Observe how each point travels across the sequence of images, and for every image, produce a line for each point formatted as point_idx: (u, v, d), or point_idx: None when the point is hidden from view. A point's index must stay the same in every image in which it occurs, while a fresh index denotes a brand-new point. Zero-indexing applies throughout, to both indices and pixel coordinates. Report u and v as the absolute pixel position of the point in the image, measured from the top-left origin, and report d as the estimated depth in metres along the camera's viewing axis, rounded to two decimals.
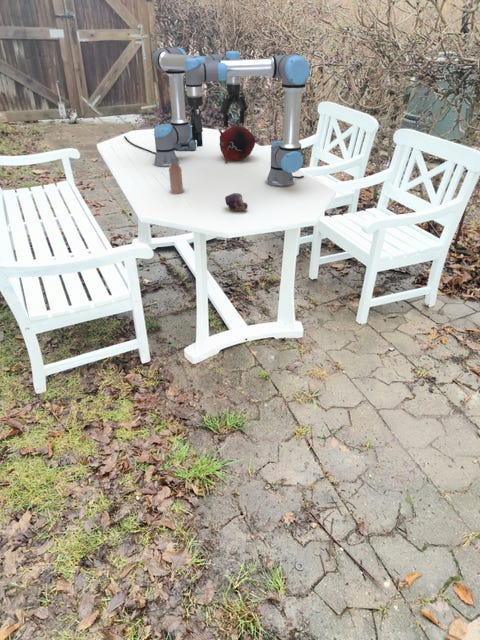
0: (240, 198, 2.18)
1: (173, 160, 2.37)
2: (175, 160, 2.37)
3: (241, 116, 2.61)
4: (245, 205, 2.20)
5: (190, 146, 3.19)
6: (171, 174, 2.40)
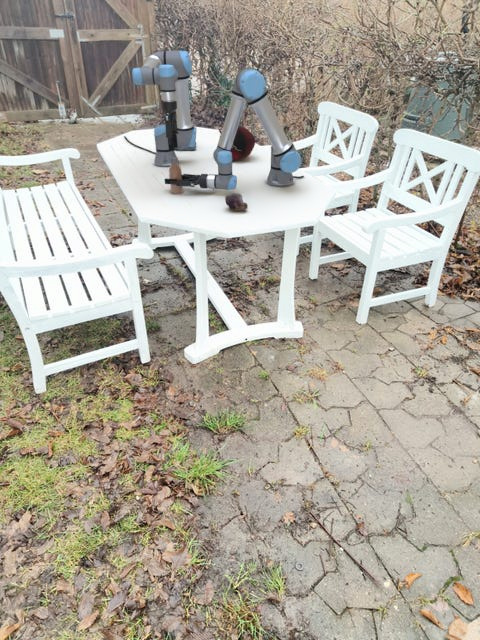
0: (240, 198, 2.18)
1: (173, 160, 2.37)
2: (175, 160, 2.37)
3: None
4: (245, 205, 2.20)
5: None
6: (171, 174, 2.40)
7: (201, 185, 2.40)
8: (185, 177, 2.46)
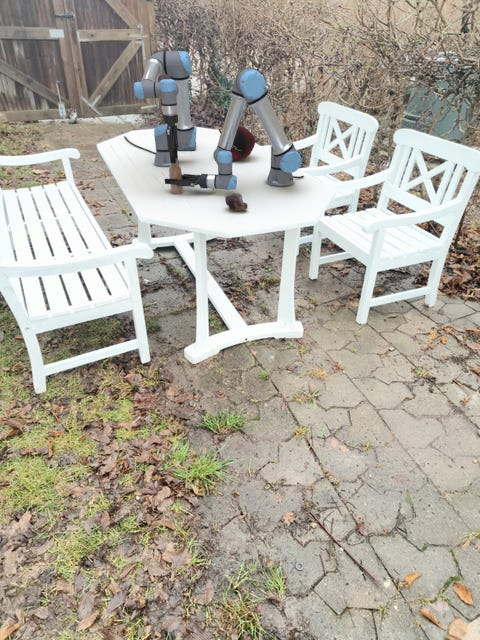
0: (240, 198, 2.18)
1: None
2: None
3: None
4: (245, 205, 2.20)
5: None
6: (171, 174, 2.40)
7: (201, 185, 2.40)
8: (185, 177, 2.46)
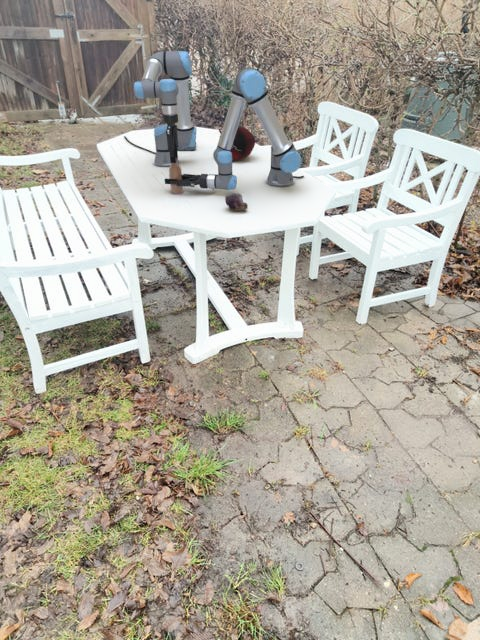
0: (240, 198, 2.18)
1: (177, 159, 2.39)
2: None
3: None
4: (245, 205, 2.20)
5: None
6: (171, 174, 2.40)
7: (201, 185, 2.40)
8: (185, 177, 2.46)
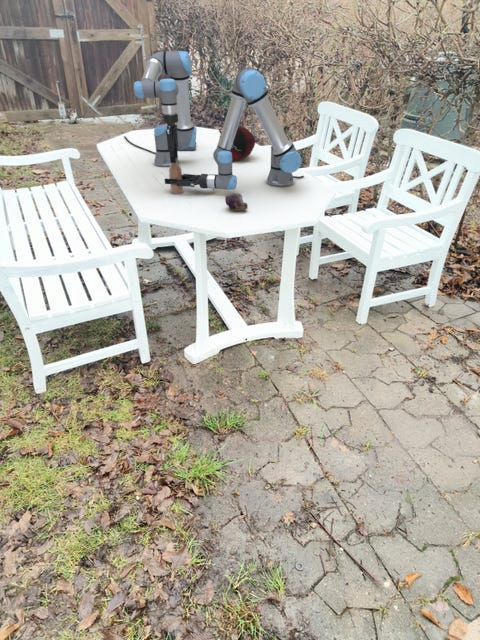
0: (240, 198, 2.18)
1: None
2: None
3: None
4: (245, 205, 2.20)
5: None
6: (171, 174, 2.40)
7: (201, 185, 2.40)
8: (185, 177, 2.46)
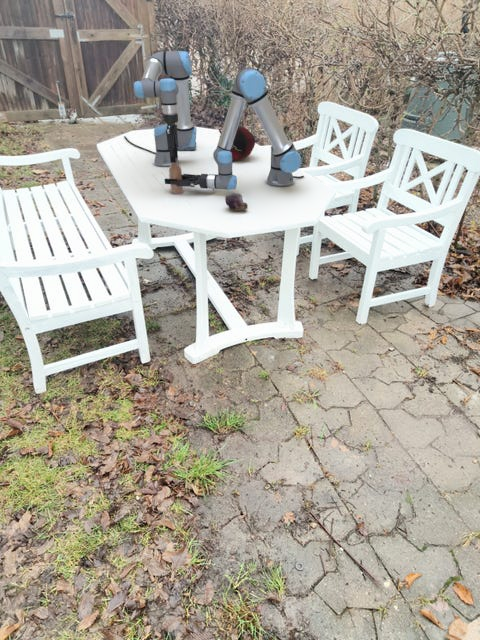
0: (240, 198, 2.18)
1: None
2: None
3: None
4: (245, 205, 2.20)
5: None
6: (171, 174, 2.40)
7: (201, 185, 2.40)
8: (185, 177, 2.46)
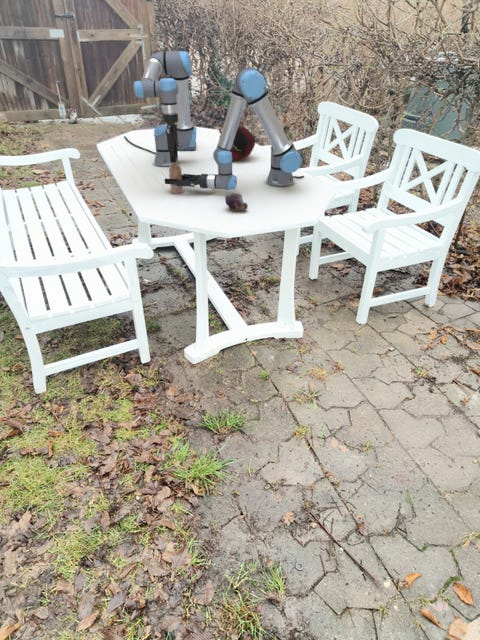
0: (240, 198, 2.18)
1: None
2: (176, 159, 2.37)
3: None
4: (245, 205, 2.20)
5: None
6: (171, 174, 2.40)
7: (201, 185, 2.40)
8: (185, 177, 2.46)
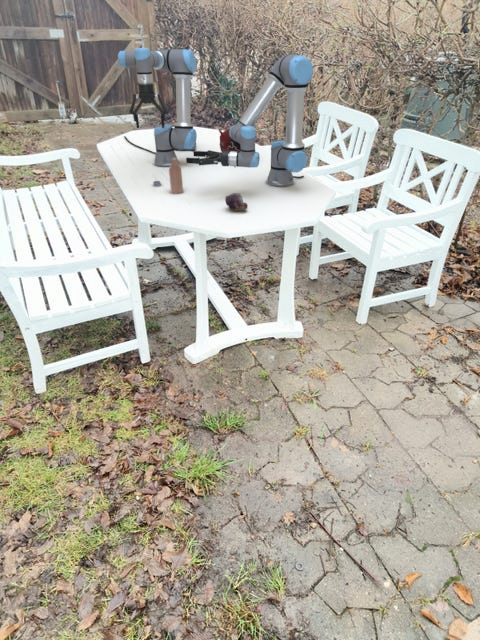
0: (240, 198, 2.18)
1: None
2: None
3: None
4: (245, 205, 2.20)
5: None
6: (171, 174, 2.40)
7: (222, 162, 2.31)
8: (208, 154, 2.39)
